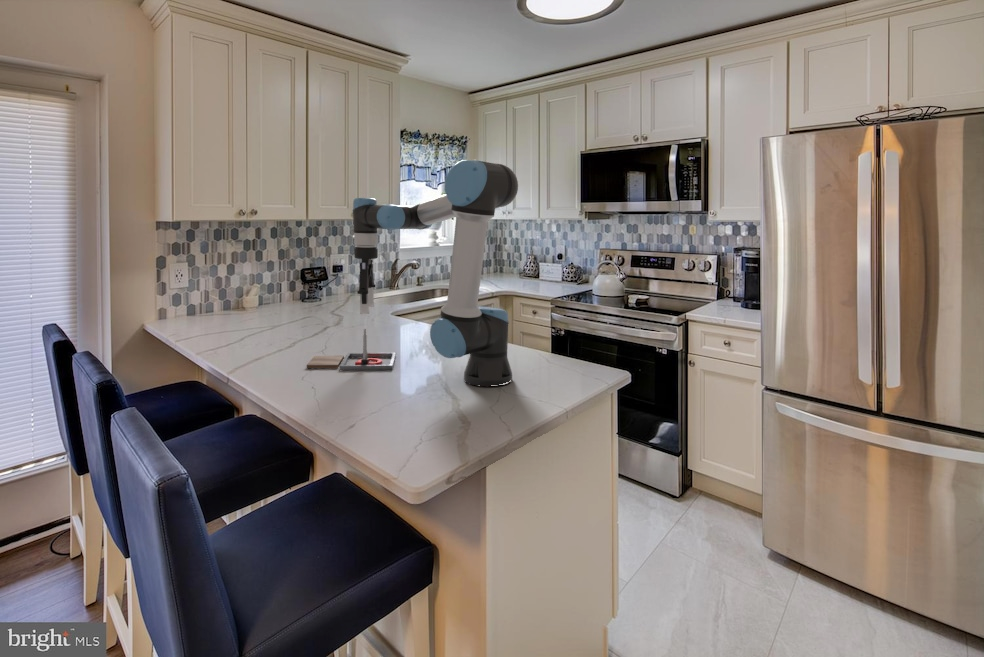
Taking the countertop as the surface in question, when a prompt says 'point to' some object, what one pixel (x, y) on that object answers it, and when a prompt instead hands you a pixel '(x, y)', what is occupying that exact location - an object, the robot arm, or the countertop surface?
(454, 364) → the countertop surface
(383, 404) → the countertop surface
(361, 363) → the tow hook
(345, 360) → the grey square tray
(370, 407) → the countertop surface
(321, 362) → the walnut board
